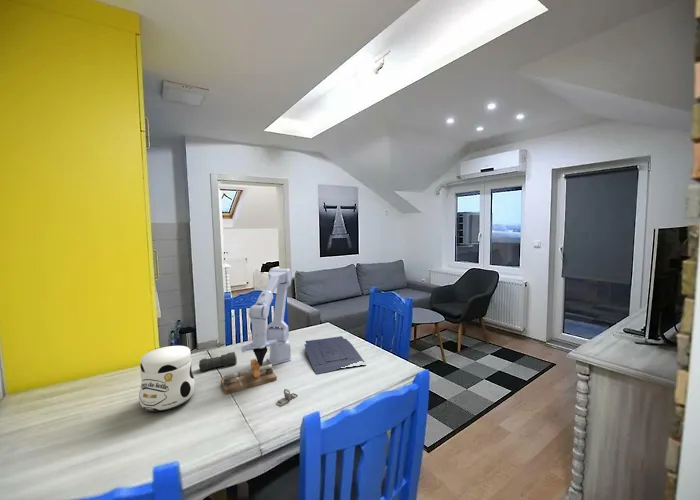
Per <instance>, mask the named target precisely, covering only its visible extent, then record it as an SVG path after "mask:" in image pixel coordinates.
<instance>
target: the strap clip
mask: <svg viewBox="0 0 700 500" xmlns="http://www.w3.org/2000/svg"><path fill="white" fill-rule="evenodd" d="M283 395H284V397H281V398H280V399H278V400H277V401H276V402H275V405H277V406H278V407H283V406H285V405H286V404H287V403H289V401H293V400H294V399H296V398H298V394H296V393H294V392H292V393H291V391H290V389H288V388H284V390H283ZM292 399H293V400H292Z"/></svg>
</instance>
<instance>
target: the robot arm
mask: <svg viewBox="0 0 700 500" xmlns="http://www.w3.org/2000/svg"><path fill="white" fill-rule="evenodd" d="M292 278H293V274H292V271H291V269H290V268H274V267H271V268H270V269H269V271H268V281H267V285H266V288H265V289H264V290H263V291H262V292H261V293H260V294H259V296H258V298H257V300H256V302H255V304H253V305H251V306H250V307H249V311H248V317H249V318H250V323H251V326H252V328H251V331H252V332H251V333H252V335H251V336H252V337H251V338H252V339H251V340H252V342H251V343H248V344H246V345H241V348H240V350H241V353H245V352H248V351H252V352H253V353H254V355H255V359H256V360H257V362H258V363H259V367H262V366H263V362H264V359H265V356H266V355H267V353H268V347H269V357H266V359H267V361H268V362H269V363H270V364H272V366H273V365H277V364H281V363H284V362H285V363H286V362H289V361H291V360H292V359H291V342H290V340H289V336H290V335H289V334H290V333H289V332H290V331H289V329H290V328H289V325H288V324H287V323H286V322H285V321H284V320H285V312H286V302H287V294H288V288H289V287H291V285H292ZM275 291H276V295H275V302H274V303H275V304H274V309H273V310H274V312H273V318H272V321H271V322H270V323H269V324H267V318H268V317H269V314H270V306H271V304H272V302H273V299H274V295H273V294H274V293H275Z"/></svg>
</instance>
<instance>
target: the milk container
mask: <svg viewBox="0 0 700 500" xmlns="http://www.w3.org/2000/svg"><path fill="white" fill-rule="evenodd" d="M139 363H140V364H139V365H140V380H141V382H140V388H139V391H138V400H139V404H140V406H141V408H142V409H144V410H145V411H148V412H156V413H157V412H164V411H169V410H172V409H175V408H177V407H179V406H181V405H183V404H185V403H186V402H188V401H189V400H190V399H191V397H192V396H193V395H194V392H195V387H196V381H195V377H194V374H193V371H192V353H191V349H190V348H189V347H188V346H185V345H171V346H164V347H159V348H156V349H152V350H151V351H149V352H146V353H145V354H143V355H142V356H141V358H140V362H139Z"/></svg>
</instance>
